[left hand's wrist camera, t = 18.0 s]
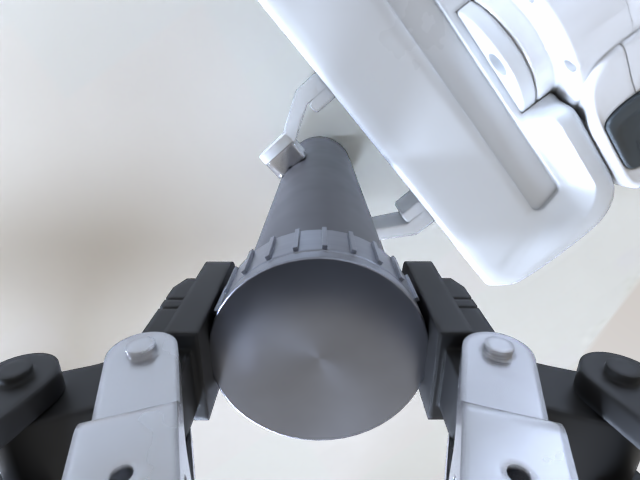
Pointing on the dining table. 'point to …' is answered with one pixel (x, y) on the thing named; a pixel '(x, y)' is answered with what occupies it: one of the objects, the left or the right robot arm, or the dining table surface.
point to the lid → (318, 336)
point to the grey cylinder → (320, 196)
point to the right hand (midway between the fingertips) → (307, 206)
